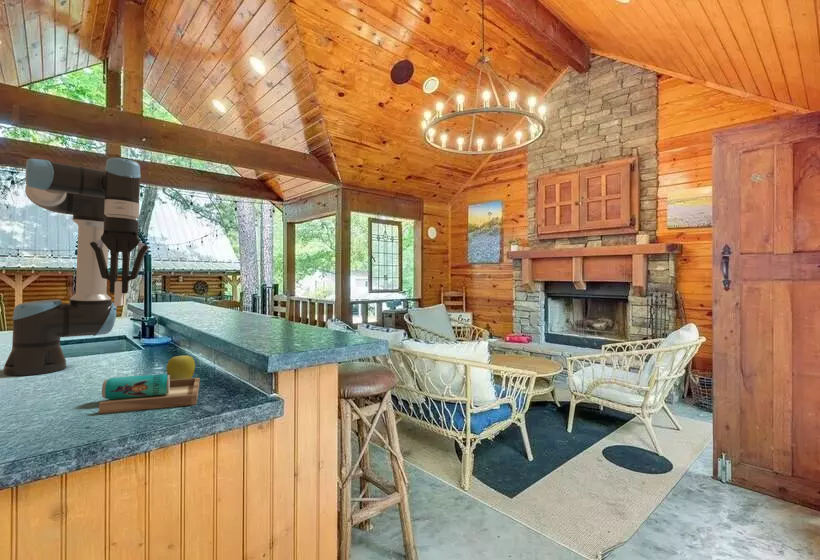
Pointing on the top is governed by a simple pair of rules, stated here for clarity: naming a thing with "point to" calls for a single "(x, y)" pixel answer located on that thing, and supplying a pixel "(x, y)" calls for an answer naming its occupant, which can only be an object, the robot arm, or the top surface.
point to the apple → (181, 367)
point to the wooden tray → (157, 398)
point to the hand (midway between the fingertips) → (118, 305)
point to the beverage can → (135, 386)
